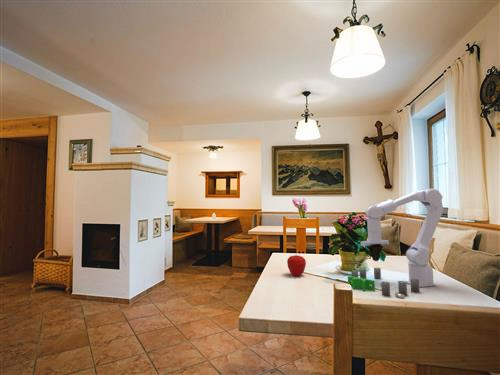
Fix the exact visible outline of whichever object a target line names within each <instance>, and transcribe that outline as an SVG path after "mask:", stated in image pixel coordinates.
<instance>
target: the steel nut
mask: <svg viewBox="0 0 500 375" xmlns="http://www.w3.org/2000/svg"><path fill="white" fill-rule="evenodd" d="M394 294H395V298H397V299H405V297H406V296H404V294H403V293H399V292H395V293H394Z"/></svg>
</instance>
